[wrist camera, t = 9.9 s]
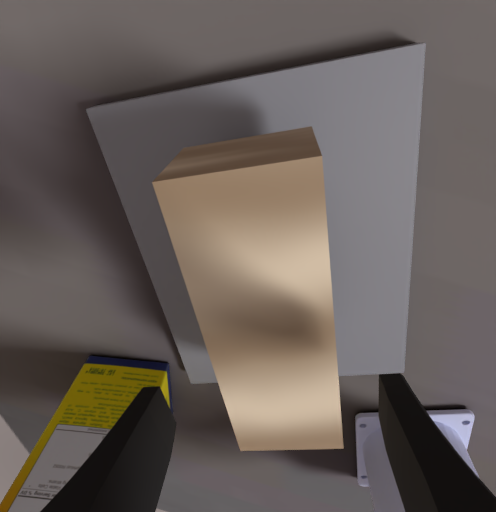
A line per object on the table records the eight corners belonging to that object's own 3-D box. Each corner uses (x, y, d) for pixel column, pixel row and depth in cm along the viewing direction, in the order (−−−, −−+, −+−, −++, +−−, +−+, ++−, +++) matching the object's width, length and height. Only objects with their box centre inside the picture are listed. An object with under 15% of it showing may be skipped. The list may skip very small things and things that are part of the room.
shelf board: (333, 379, 20) (343, 448, 17) (247, 384, 21) (240, 451, 17) (311, 126, 13) (322, 156, 10) (183, 147, 14) (151, 182, 10)
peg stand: (399, 360, 23) (414, 400, 20) (194, 372, 25) (184, 409, 23) (416, 42, 14) (447, 42, 11) (95, 105, 16) (61, 117, 14)
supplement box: (101, 405, 28) (13, 584, 19) (88, 352, 25) (-25, 535, 16) (175, 413, 28) (122, 598, 19) (171, 361, 25) (105, 552, 16)
